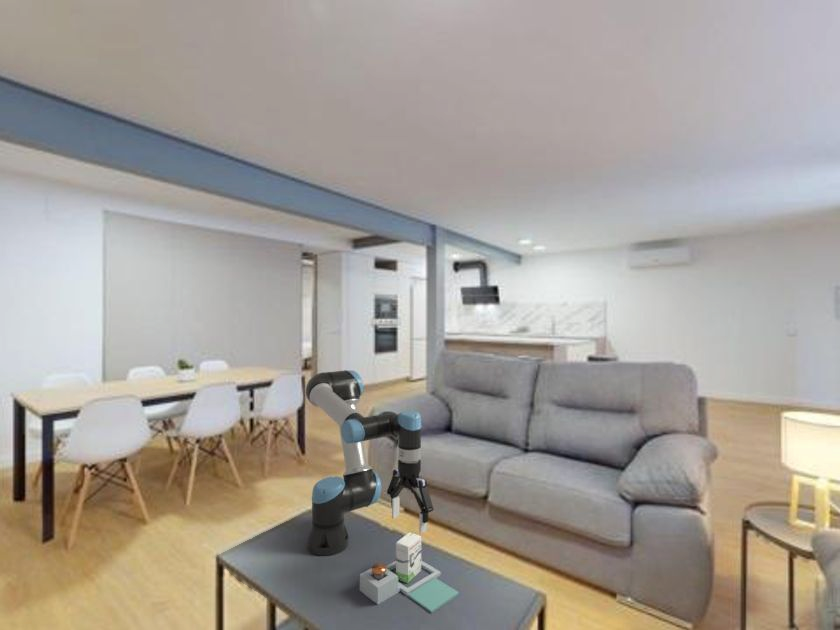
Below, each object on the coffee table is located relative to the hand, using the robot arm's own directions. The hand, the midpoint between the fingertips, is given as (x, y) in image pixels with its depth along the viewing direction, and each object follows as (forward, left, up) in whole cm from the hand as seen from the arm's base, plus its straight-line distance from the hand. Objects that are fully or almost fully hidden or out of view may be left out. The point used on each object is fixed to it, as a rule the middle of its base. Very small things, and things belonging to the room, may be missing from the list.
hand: (409, 524), depth 141 cm
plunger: (0, -12, -15) cm, 20 cm away
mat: (+13, -1, -17) cm, 21 cm away
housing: (0, -4, -17) cm, 17 cm away
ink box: (0, 0, -17) cm, 17 cm away
